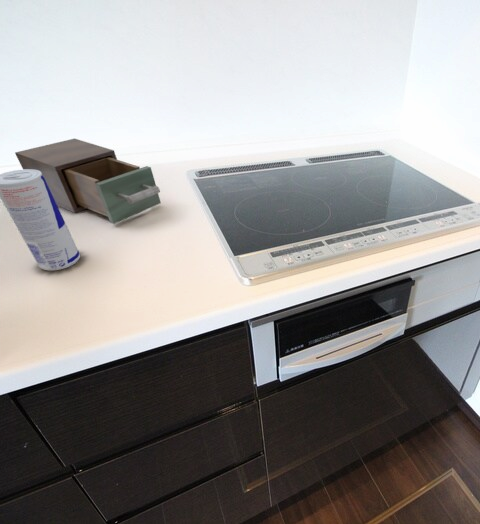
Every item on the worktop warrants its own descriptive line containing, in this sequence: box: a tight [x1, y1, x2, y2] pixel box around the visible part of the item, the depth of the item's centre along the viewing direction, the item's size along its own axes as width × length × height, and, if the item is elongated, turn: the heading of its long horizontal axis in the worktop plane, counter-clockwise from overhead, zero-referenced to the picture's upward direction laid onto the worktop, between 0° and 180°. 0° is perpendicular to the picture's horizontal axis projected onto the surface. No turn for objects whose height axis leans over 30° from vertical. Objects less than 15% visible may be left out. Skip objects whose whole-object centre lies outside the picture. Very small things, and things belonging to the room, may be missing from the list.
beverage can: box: [0, 168, 81, 271], centre depth 55 cm, size 6×6×15 cm
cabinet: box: [14, 138, 118, 214], centre depth 76 cm, size 14×12×10 cm
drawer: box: [62, 157, 162, 224], centre depth 71 cm, size 17×10×8 cm, turn 62°
